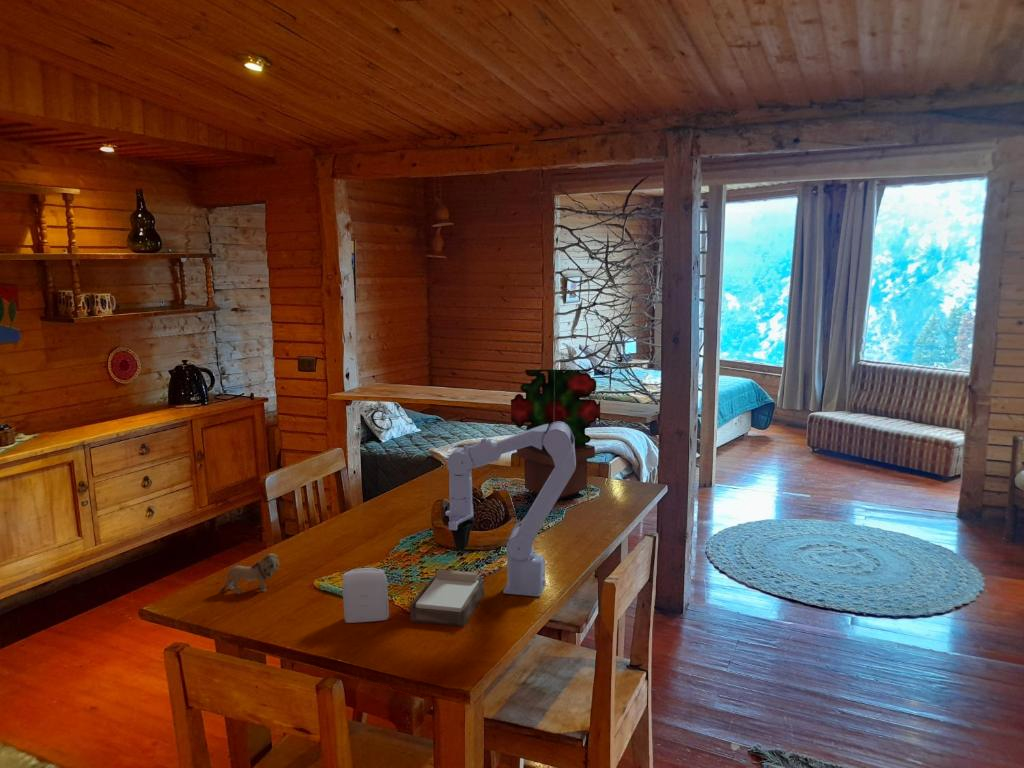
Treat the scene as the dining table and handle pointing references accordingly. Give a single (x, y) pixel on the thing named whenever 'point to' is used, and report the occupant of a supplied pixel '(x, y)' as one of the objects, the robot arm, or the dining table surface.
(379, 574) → the photo printer
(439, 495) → the dining table surface
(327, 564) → the dining table surface
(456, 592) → the cover plate
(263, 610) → the dining table surface
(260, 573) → the lion figurine
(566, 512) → the dining table surface
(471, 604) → the walnut box
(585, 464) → the potted plant
